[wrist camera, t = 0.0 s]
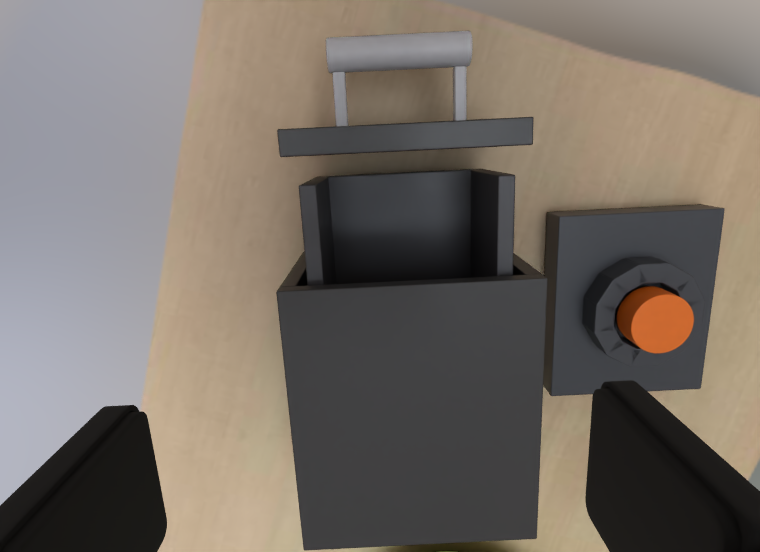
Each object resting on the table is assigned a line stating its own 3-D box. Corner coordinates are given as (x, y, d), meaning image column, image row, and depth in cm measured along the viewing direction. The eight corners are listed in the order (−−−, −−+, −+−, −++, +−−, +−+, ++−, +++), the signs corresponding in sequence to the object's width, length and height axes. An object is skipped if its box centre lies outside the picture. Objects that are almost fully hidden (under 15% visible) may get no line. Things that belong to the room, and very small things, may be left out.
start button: (618, 287, 29) (633, 295, 27) (678, 284, 29) (698, 292, 27) (614, 343, 30) (628, 355, 28) (672, 340, 30) (690, 352, 28)
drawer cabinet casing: (304, 249, 32) (276, 291, 22) (496, 240, 32) (548, 277, 22) (321, 445, 35) (303, 550, 26) (494, 436, 35) (537, 539, 26)
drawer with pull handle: (295, 56, 28) (266, 22, 20) (493, 47, 28) (537, 9, 20) (319, 344, 32) (303, 403, 25) (489, 335, 33) (525, 392, 25)
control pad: (546, 211, 31) (571, 220, 27) (701, 204, 31) (747, 212, 27) (539, 381, 34) (561, 410, 31) (680, 374, 34) (720, 402, 31)
